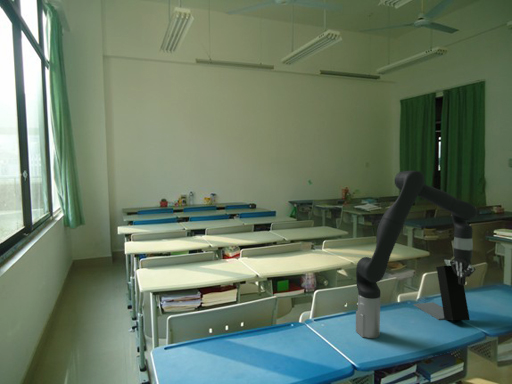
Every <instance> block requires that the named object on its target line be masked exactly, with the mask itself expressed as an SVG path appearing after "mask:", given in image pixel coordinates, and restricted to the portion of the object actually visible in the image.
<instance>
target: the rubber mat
mask: <svg viewBox="0 0 512 384" xmlns="http://www.w3.org/2000/svg"><path fill="white" fill-rule="evenodd" d="M413 306H414V307H416V308H418V309H419V310H421V311H423V312H425V313H426V314H428V315H429V316H431V317H434V318H435V319H437V320H438V321H443V320H445V319H444V312H443V306H441V305H439V304H437V303H435V302H434V301H433V302H432V301H431V302H424V303H423V302H422V303H413Z"/></svg>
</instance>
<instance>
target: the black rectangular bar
mask: <svg viewBox="0 0 512 384" xmlns="http://www.w3.org/2000/svg"><path fill="white" fill-rule="evenodd" d="M450 261H451V259H444V261H443V262H444V263H445V265H441V266H436V267H435V269H436V273H437V279H438V285H439V292H440V298H441V299H440V300H441V305H442V306H441V307H443V312H444V319H443V320H447V321H449V320H450V321H470V319H471V318H470V314H469V309H468V308H469V307H468V302H467V296H466V291H465V285H460V284H458V275H457V274H455V273H454V271H453V268H452V266H451V264H450Z"/></svg>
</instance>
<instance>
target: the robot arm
mask: <svg viewBox="0 0 512 384" xmlns="http://www.w3.org/2000/svg"><path fill="white" fill-rule="evenodd" d="M394 185H395V187H396V188H397V189H398V190H400V193H399V194H398V196H397V198H396V200H395V201H394V202H393V204H391V205H390V206H389V207H388V208H387V209H386V210H385V211H384V213H383V215H382V216H381V219H380V221H379V224H378V226H377V229H376V245H375V250H374V252H373V255H372V257H368V256H365V257H362V258H360V259H359V260H358V262H357V264H356V269H355V274H356V275H355V278H356V289H357V298H358V299H357V310H355V332H356V333H357V334H358V335H359V336H360V337H361V338H367V339H376V338H378V337H380V331H381V329H380V328H381V289H380V287H379V286H378V282H380V281H382V279H383V278H384V275H385V273H386V272H387V271H386V270H387V267H388V263H389V262H390V261H389V260H390V258H391V255H392V253H393V250H394V248H395V245H396V243H397V240H398V238H399V236H400V234H401V231H402V230H403V227H404V225H405V223H406V219H407V218H408V215H409V213H410V211H411V209H412V207H413V204H414V203H415V201H416V199H417V198H418V197H419V198H422V199H423V200H426V201H427V202H429V203H431V204H433V205H435V206H437V207H438V208H440V209H442V210H444V211H447V212H449V213H451V218H452V223H453V227H454V239H453V245H452V246H453V247H452V248H453V249H452V250H453V253H452V254H453V255H452V256H453V257H454V258H453V260H452V261H450V264H449V265H450V266H452V268H453V271H454V273H455V274H457V275H458V284H460V285H464V286H465V284H466V280H467V279H466V278H468V277H471V275H472V274H473V273H474V272H475V271H476V268H475V267H473V266H472V261H471V260H472V258H473V250H474V249H473V245H474V244H473V242H474V241H473V230H474V229H473V226H472V225H470V224H469V223H468V221H472V220H474V219H476V218H477V216H478V209H477V208H476V206H475V205H473V204H472V203H469V202H467V201H464V200H462V199H459V198H457V197H455V196H453V195H452V194H450V193H448V192H446V191H444V190H441V189H439V188H436V187H433V186H431V185H427V184H426V183H425V176H424V174H423V173H422V172H421V171H419V170H402V171H400V172H398V173H397V174H396V175H395V177H394Z"/></svg>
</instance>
